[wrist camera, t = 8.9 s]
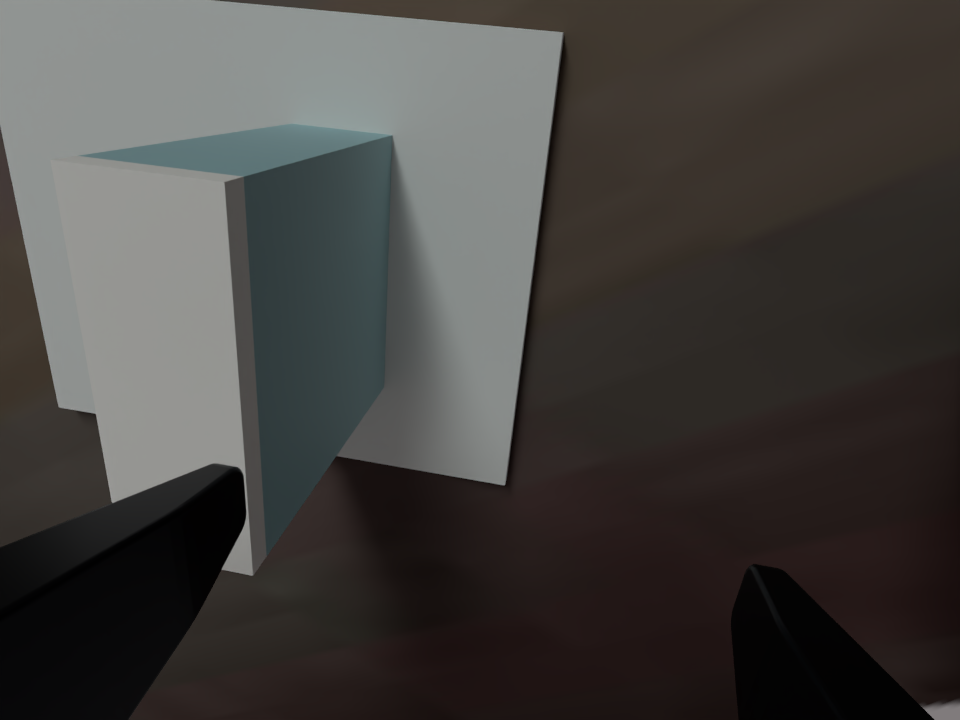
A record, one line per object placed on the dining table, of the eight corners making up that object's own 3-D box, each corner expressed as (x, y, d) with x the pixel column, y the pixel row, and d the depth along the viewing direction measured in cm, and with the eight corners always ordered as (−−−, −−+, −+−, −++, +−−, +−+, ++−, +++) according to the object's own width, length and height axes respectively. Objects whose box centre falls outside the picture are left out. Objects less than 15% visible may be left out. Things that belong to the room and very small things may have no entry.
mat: (563, 33, 17) (563, 32, 16) (507, 475, 23) (504, 485, 22) (-13, -19, 19) (-31, -22, 18) (70, 400, 25) (58, 407, 24)
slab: (392, 135, 18) (223, 182, 10) (384, 387, 21) (253, 575, 13) (291, 123, 19) (50, 159, 10) (299, 373, 22) (120, 549, 14)
